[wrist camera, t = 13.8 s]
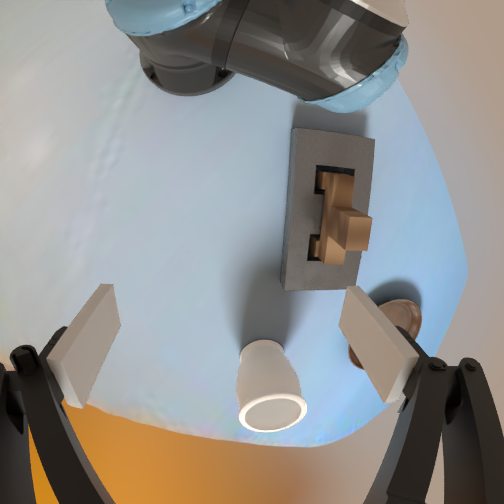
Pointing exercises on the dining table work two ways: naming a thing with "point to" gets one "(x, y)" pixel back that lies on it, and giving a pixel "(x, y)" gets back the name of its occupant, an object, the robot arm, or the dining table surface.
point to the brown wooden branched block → (339, 220)
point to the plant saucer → (397, 320)
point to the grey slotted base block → (321, 206)
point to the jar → (268, 388)
